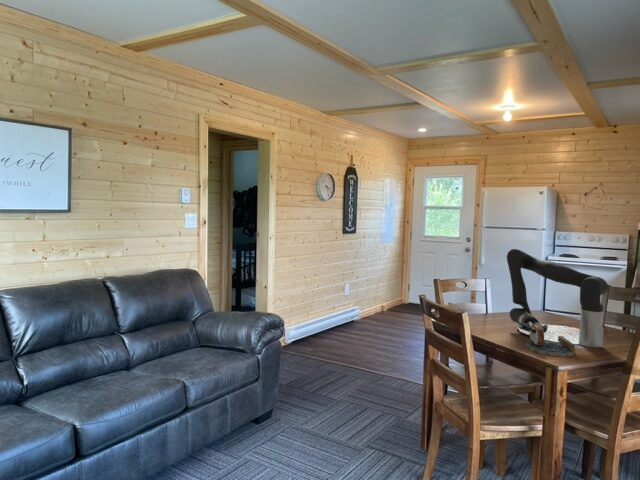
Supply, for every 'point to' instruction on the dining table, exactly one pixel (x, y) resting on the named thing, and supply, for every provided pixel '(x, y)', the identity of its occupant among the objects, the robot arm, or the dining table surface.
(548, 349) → the decorative tile
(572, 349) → the walnut stop strip
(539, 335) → the tin
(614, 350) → the dining table surface
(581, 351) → the dining table surface
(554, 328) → the dining table surface
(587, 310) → the robot arm
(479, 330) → the dining table surface
